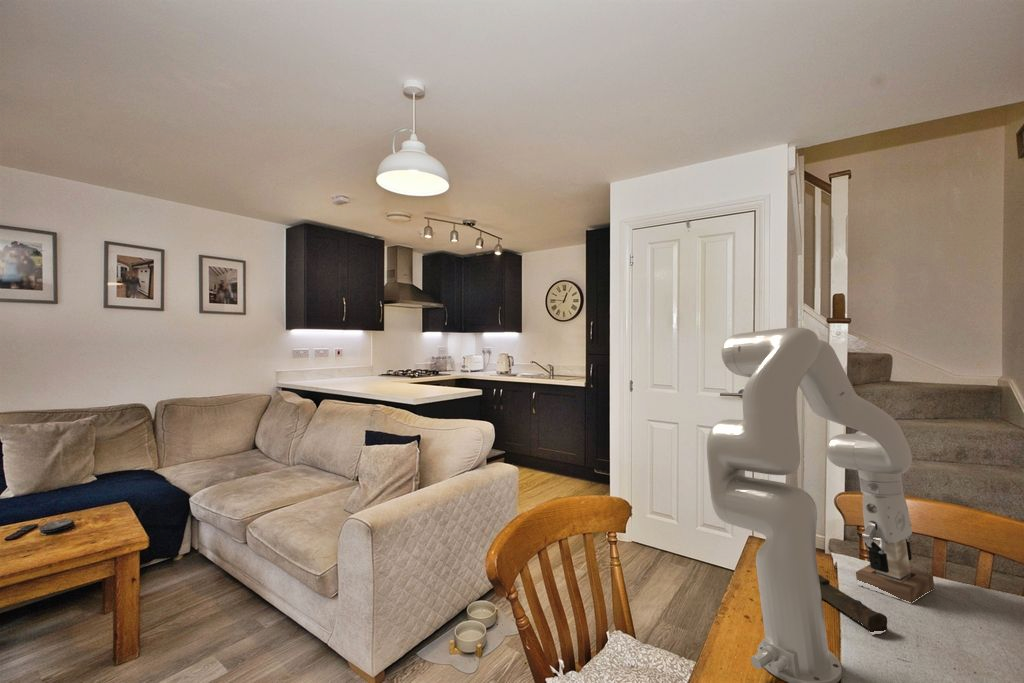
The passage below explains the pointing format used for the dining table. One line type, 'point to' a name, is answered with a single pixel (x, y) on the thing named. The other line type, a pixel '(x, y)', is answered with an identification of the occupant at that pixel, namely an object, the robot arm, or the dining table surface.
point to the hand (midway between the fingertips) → (891, 564)
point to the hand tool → (852, 607)
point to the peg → (896, 561)
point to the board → (899, 583)
